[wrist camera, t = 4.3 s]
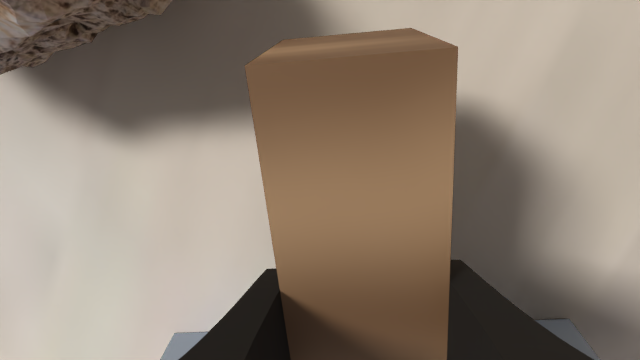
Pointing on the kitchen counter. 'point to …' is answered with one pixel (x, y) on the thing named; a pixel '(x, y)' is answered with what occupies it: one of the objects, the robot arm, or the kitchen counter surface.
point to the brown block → (359, 190)
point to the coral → (61, 25)
